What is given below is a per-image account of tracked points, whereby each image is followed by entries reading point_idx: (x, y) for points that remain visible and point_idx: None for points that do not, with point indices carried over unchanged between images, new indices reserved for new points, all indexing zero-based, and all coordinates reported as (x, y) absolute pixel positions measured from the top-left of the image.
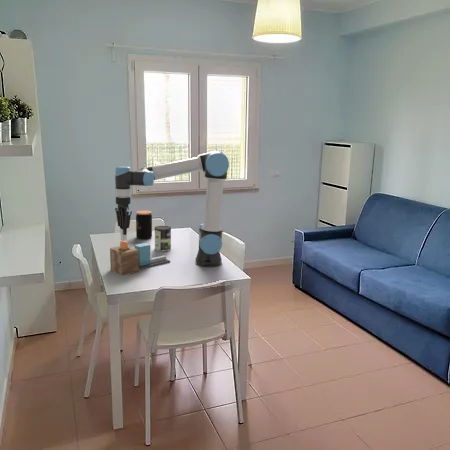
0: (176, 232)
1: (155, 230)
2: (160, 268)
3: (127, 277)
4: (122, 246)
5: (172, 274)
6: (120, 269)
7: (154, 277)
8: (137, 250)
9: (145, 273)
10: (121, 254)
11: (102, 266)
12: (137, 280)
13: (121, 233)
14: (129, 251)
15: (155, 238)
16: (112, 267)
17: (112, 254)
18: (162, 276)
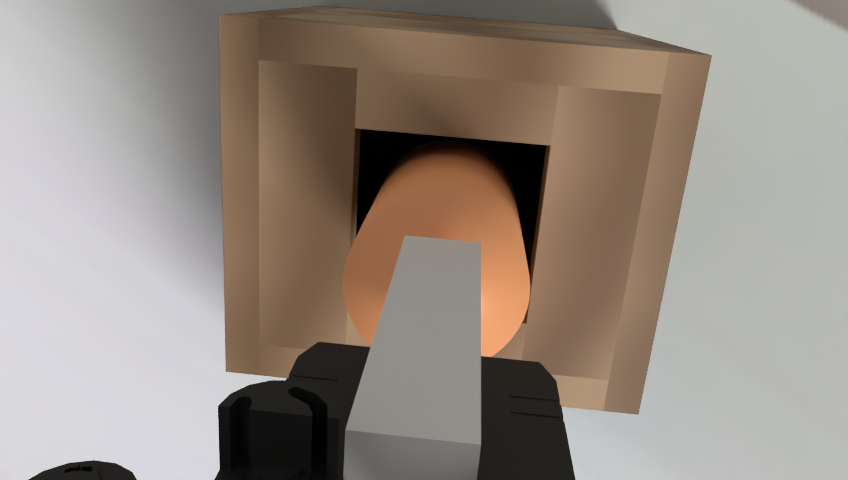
0: None
1: None
2: None
3: (217, 10)
4: (398, 185)
5: (23, 417)
6: (349, 10)
7: (42, 238)
8: (228, 352)
9: (209, 249)
10: (241, 15)
11: (803, 16)
12: (58, 37)
13: (421, 330)
14: (240, 206)
15: None
16: (572, 27)
17: (591, 39)
18: (24, 315)
